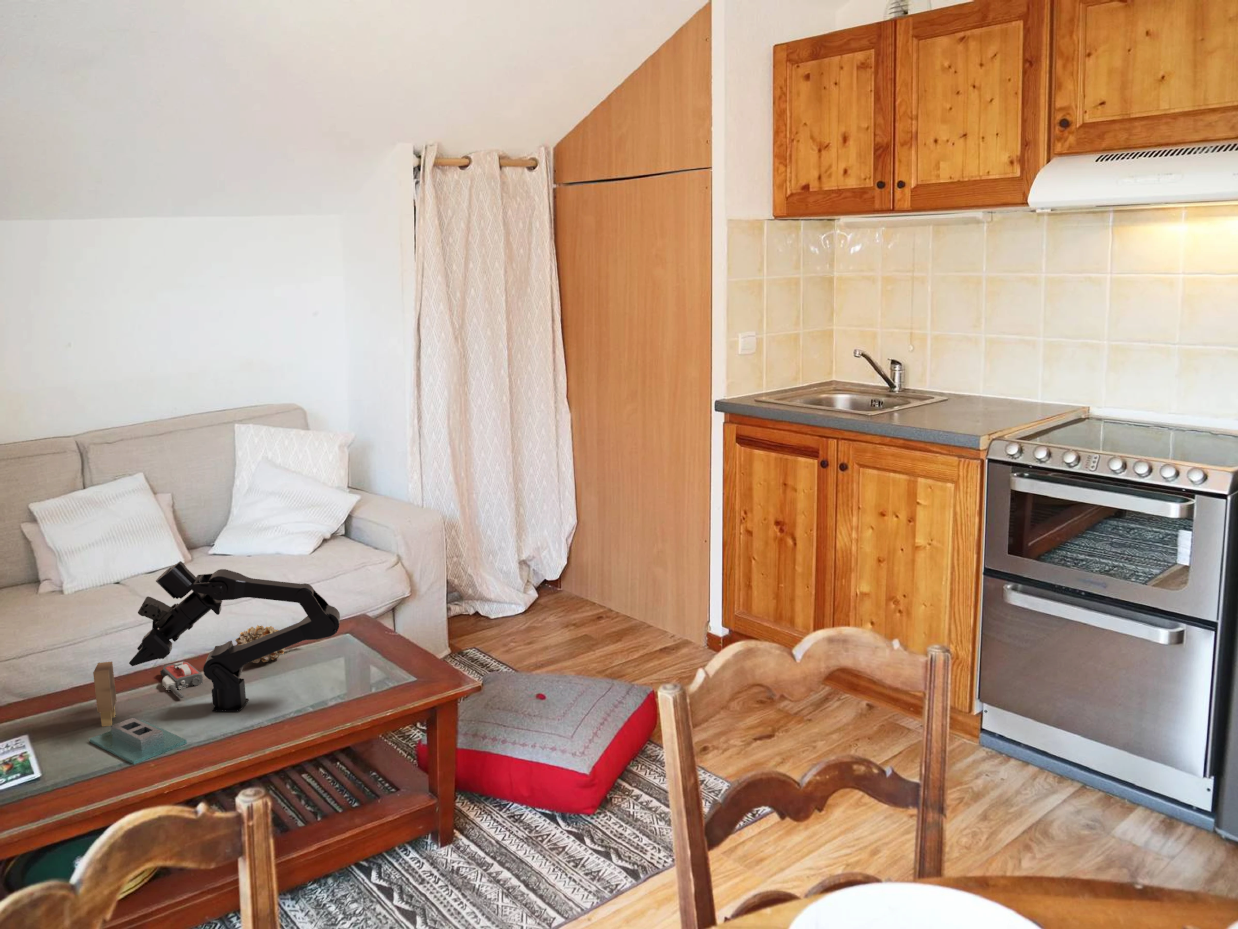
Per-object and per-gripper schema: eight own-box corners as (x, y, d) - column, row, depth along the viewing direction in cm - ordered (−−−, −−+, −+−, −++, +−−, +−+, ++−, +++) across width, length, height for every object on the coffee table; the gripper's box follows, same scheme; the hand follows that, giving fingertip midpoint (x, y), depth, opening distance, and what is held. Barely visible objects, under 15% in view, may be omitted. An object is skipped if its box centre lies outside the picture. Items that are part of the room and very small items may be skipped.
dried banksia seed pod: (249, 674, 270) (246, 637, 268) (228, 666, 276) (225, 629, 274) (323, 650, 287) (321, 614, 285) (302, 642, 293) (300, 607, 291)
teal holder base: (89, 742, 234) (88, 728, 233) (141, 722, 243) (140, 709, 242) (134, 764, 223) (132, 749, 222) (186, 743, 232) (185, 729, 232)
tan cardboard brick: (103, 716, 247) (97, 663, 244) (118, 714, 247) (112, 661, 245) (99, 727, 241) (93, 672, 238) (113, 725, 242) (107, 671, 239)
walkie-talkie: (152, 678, 270) (177, 703, 254) (150, 662, 269) (176, 686, 254) (187, 670, 275) (215, 694, 260) (186, 653, 274) (213, 676, 259)
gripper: (169, 575, 252) (117, 619, 251) (154, 600, 234) (98, 647, 233) (203, 608, 255) (152, 652, 254) (191, 635, 237) (136, 682, 236)
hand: (134, 657), depth 244 cm, fingers open, 9 cm apart
